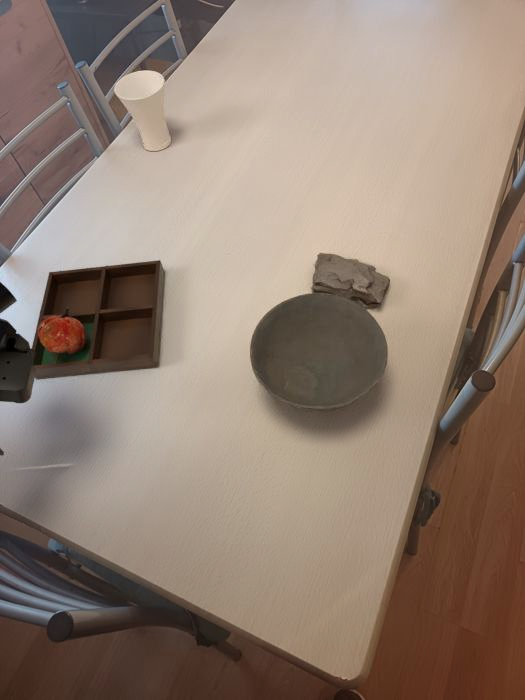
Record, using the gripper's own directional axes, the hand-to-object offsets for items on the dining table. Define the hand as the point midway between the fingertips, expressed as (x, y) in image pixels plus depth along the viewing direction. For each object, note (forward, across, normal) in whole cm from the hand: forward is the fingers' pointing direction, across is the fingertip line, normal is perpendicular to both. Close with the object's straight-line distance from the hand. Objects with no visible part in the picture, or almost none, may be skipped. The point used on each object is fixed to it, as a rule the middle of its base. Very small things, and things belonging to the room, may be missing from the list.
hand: (8, 420), depth 65 cm
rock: (+12, +26, -48) cm, 56 cm away
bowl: (+12, +8, -41) cm, 44 cm away
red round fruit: (+11, +18, -1) cm, 21 cm away
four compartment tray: (+12, +24, -6) cm, 27 cm away
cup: (+12, +73, -12) cm, 75 cm away
